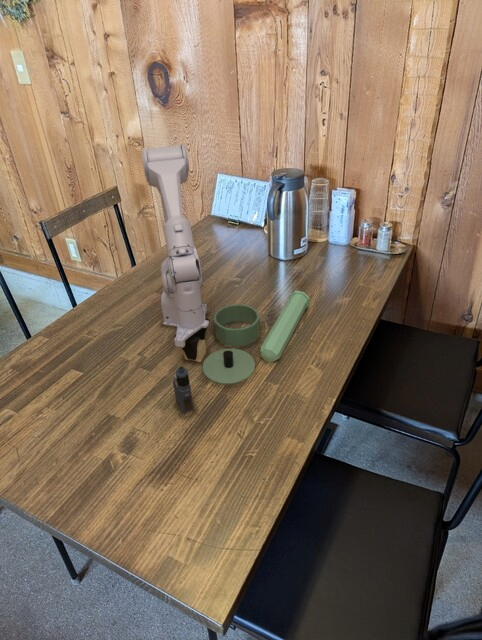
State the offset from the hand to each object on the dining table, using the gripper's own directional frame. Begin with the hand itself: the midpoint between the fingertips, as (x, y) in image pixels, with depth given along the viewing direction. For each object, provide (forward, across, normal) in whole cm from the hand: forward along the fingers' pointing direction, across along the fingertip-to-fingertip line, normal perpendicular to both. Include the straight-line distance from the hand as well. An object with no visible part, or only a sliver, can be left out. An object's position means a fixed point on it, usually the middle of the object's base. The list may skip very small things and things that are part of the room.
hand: (195, 352), depth 106 cm
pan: (+1, +11, -7) cm, 13 cm away
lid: (+1, -2, -9) cm, 9 cm away
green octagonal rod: (+2, +14, -18) cm, 23 cm away
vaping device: (+2, -16, -4) cm, 17 cm away
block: (+1, 0, 0) cm, 1 cm away
